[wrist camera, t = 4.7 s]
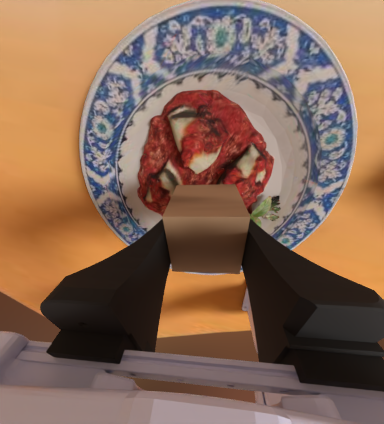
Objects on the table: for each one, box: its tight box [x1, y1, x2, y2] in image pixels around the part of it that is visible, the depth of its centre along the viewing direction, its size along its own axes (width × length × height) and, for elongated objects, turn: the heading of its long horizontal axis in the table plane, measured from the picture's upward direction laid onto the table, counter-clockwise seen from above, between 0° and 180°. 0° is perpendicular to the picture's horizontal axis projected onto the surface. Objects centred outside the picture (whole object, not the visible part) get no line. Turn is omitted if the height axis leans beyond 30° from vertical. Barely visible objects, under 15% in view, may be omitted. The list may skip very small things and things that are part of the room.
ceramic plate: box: [79, 0, 358, 275], centre depth 16 cm, size 26×26×3 cm
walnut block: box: [162, 184, 250, 274], centre depth 11 cm, size 4×4×4 cm
